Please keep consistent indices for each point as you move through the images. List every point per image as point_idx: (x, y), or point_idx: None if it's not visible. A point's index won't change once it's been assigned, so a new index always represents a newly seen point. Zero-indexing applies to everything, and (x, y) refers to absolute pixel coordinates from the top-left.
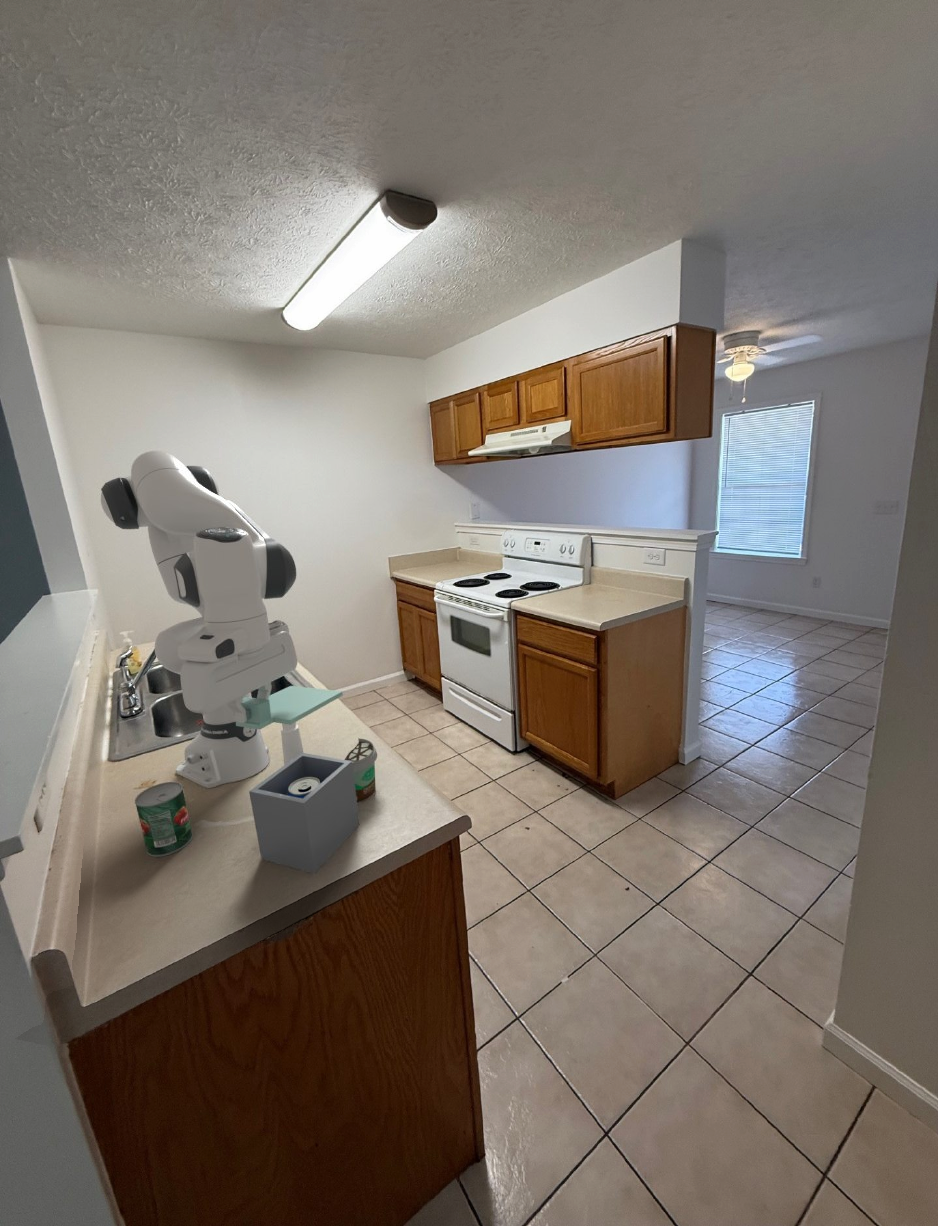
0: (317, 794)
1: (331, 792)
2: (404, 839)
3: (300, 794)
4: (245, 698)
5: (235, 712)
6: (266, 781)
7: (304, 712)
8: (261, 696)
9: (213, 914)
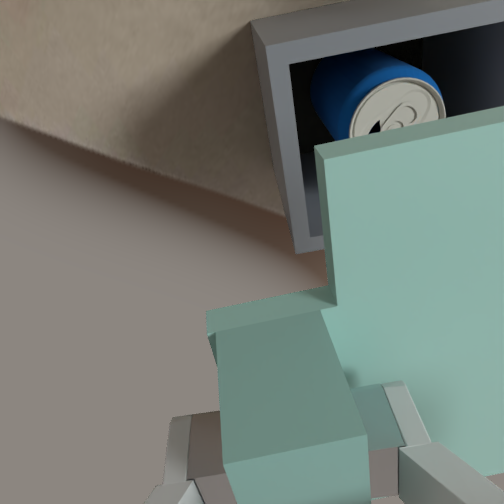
0: None
1: None
2: None
3: None
4: (333, 463)
5: (164, 484)
6: (338, 47)
7: None
8: (421, 498)
9: (98, 80)
